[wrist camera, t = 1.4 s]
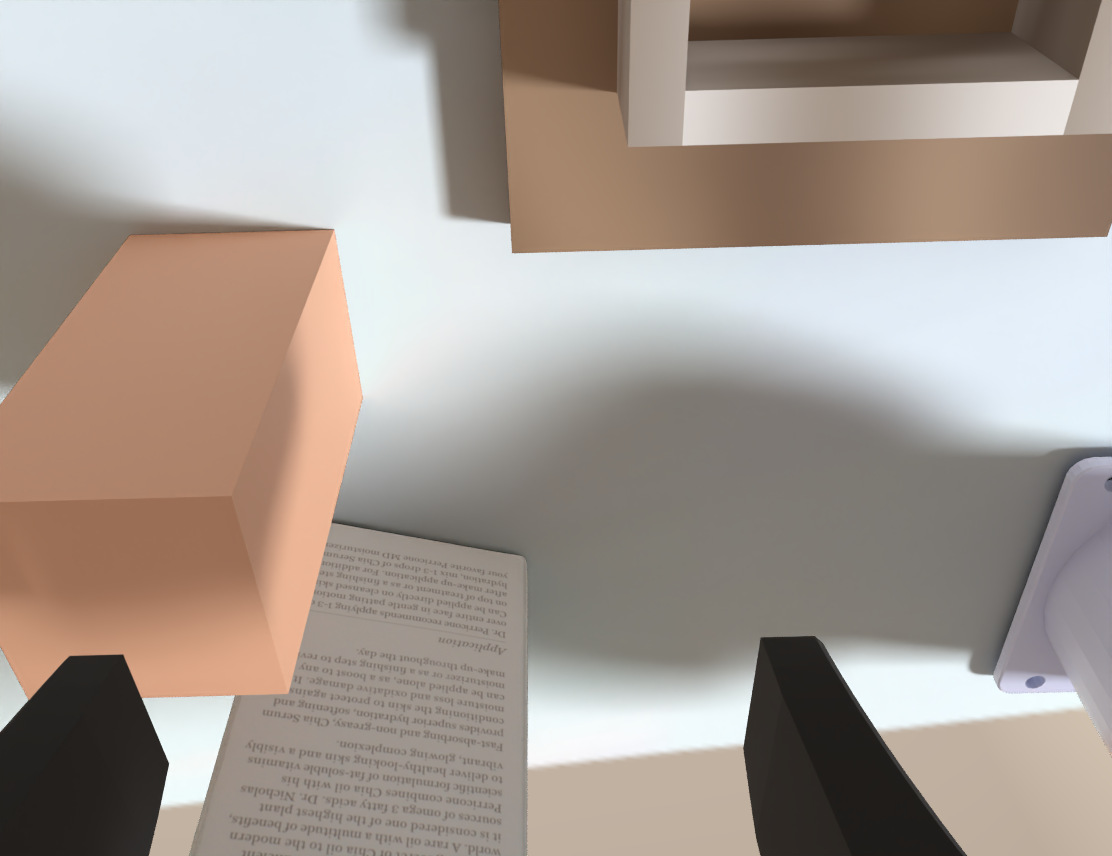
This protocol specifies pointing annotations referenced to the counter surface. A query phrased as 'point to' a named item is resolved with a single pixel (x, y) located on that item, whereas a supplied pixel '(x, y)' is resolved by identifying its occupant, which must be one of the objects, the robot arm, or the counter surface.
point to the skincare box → (387, 713)
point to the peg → (180, 464)
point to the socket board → (805, 121)
